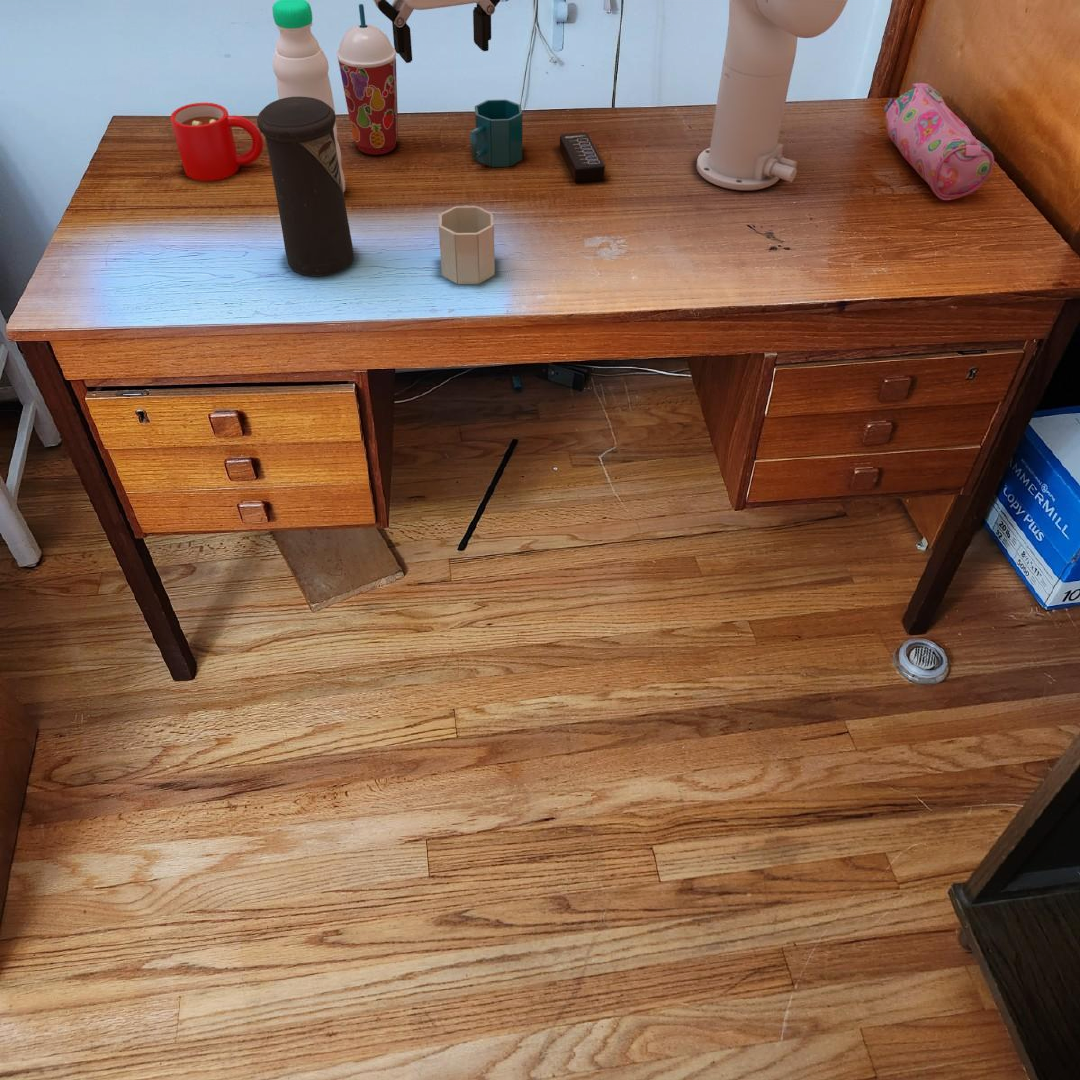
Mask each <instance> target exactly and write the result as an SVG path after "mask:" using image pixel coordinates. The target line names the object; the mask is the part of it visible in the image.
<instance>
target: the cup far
mask: <svg viewBox="0 0 1080 1080" xmlns="http://www.w3.org/2000/svg"><path fill="white" fill-rule="evenodd" d="M469 133H470V155H471V159H472V160H474V161H475V160H476V161H477V162H478V163H480V164H483V165H485V166H488V167H490V168H504V167H506V168H507V167H509V168H510V167H512V166H514V165H515V164H518V163H520V161H523V110H522V105H521V104H519V103H516V102H514V101H512V100H509V99H487V100H486V99H485V100H484V101H482V102H480V103H478V104H477V105H475V106H474V129H472V130H471V131H470V132H469Z"/></svg>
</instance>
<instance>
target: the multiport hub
mask: <svg viewBox="0 0 1080 1080" xmlns="http://www.w3.org/2000/svg"><path fill="white" fill-rule="evenodd" d="M559 152H560V154H561V156H562V159H563V161H564V164H565V165H566V167H567V169H568V171H569V174H570V175H571V178H572V180H573V182H574V183H575V184H588V183H599V182H601V183H602V182H604V180H605V169H606V165H605V163H604V161H603V159H602V157H601V155H600V153H599V151H598V149H597V148H596V146H595V144H594V141H593V140H592V138H591V136H590V134H589V133H588V132H574V133H563V134H560V135H559Z"/></svg>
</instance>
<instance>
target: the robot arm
mask: <svg viewBox="0 0 1080 1080" xmlns="http://www.w3.org/2000/svg"><path fill="white" fill-rule="evenodd" d="M372 1H373V3H374V4H375V7H376V8H377V9H378V10H379V11H380V12H381V14H383V15H384V16H385V17H386V18H387V19H388V20H390V21H391V27H392V37H393V48H394V49H395V51H396V55H397V54H398V55H399V56H400V57H401V59H402V60H403V61H404V62H405V63H406V64H409V63H412V62H413V50H412V34H411V27H410V26H409V25H408V24H407V22H408V20H409V18H410V16H411V15H412V13H413V12H414V11H415V10H416V11H426V10H433V9H441V8H450V7H457V6H463V5H471V4H476V6H474V7H473V10H472V21H473V22H472V23H473V25H472V26H473V29H472V30H473V43H474V44H475V45H476V46H477V48H479V49H480V50H481V51H482V52H488V51H489V50H490V49H489V41H491V40H492V15H493V14H494V13H495V12H496V7H497V6H498V4H499V3H500V2H501V0H393V2H392V4H391V3H390V2H389V1H388V0H372ZM847 3H848V0H728V25H727V34H726V41H725V47H724V54H723V61H722V67H721V72H720V79H719V86H718V92H717V97H716V98H717V99H716V104H715V111H714V119H713V122H712V123H713V124H712V130H711V137H710V142H709V143H710V144H709V147H708V148H706V149H704V150H703V151H702V152H700V154H699V155H698V157H697V159H696V171H697V173H699V175H700V176H701V177H702V178H703V179H704V180H705V181H707V182H709V183H710V184H713V185H715V186H717V187H721V188H724V189H729V190H736V191H757V190H763V189H765V188H770V187H771V186H774V185H775V184H776V183H777V182H778V181H779V180H780V179H781V180H783V181H785V182H789V183H792V182H793V181H794V180H795V178H796V176H797V173H798V170H797V168H796V167H797V165H798V162H797V161H796V160H793V159H790V158H786V157H784V155H783V154H782V152H783V147H784V144H782V143H779V142H778V140H779V137H780V131H781V126H782V121H783V116H784V111H785V108H786V102H787V97H788V93H789V89H790V83H791V78H792V73H793V68H794V66H795V65H794V64H795V59H796V54H797V48H798V38H799V39H812V38H816V37H818V36H820V35H822V34H824V33H825V32H827V31H828V30H829V29H830V28H831V27H832V26H833V25H834V24H835V23H836V22H837V21H838V19H839V17H840V16H841V14H842V13H843V11H844V10H845V7H846V5H847Z"/></svg>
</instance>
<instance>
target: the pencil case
mask: <svg viewBox="0 0 1080 1080" xmlns="http://www.w3.org/2000/svg"><path fill="white" fill-rule="evenodd" d="M912 87H915V88H912V89H910V90H908V91H906V92H904V93H903V94H902V95H900V96H899V97H897V98H896V99H895V98H894V97H890V99H889V100H888V102H887V103H886V105H885V106H884V107H883V109H884V111H885V115H884V122H883V123H884V127H885V130H886V133H887V136H888V137H889V138H890V140H891V141H892V143H893V144H894V146H895V147H896V148H897V149H898V151H899V153H900V154H901V156H902V157H903V158H904V159H905V160H906V161H907V163H908V164H909V165H910V166H911V167H912V168H913V169H914V170H915V172H916V173H917V174H918V175H919V176H920V178H921V179H923V180H924V182H926V183H927V184H928V186H929V187H930V189H931V191H932V192H933V194H934V195H935V196H936V197H937V198H938V199H940V200H942V201H952V200H956V199H960V198H964V197H966V196H968V195H971V194H973V193H974V192H975V191H978V189H980V188H981V187H982V186H983V185H984V184H985V183H986V181H988V179H989V177H990V175H991V174H992V172H993V169H994V165H995V155H994V153H993V152H992V150H991V149H990V148H989V147H988V146H987V145H985V144H984V143H983V142H982V141H980V140H978V139H976V137H975V136H974V135H973V134H972V132H971V130H970V128H969V127H968V126H967V125H966V124H965V122H963V120H962V119H960V118H959V117H958V116H957V115H956V114H955V113H954V112H953V111H952V110H950V108H949V107H948V106H947V105H946V103H945V101H944V99H943V97H942V95H941V94H940V92H939V91H938V90H936V89H935V88H934V87H933V86H931V85H930V84H928V83H925V82H919V83H918V82H916V83H912Z"/></svg>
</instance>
